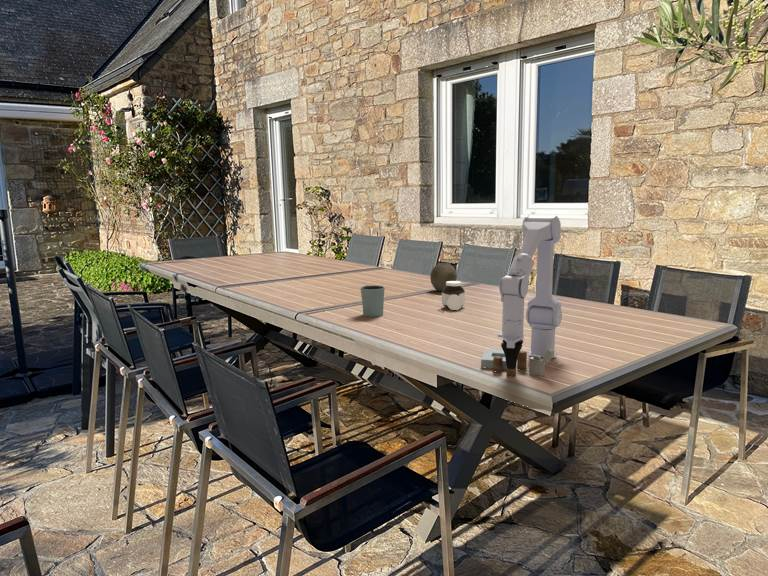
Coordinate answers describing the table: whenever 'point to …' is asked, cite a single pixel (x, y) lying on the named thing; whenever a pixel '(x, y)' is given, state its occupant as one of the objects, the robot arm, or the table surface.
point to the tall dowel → (511, 372)
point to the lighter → (540, 363)
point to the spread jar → (453, 295)
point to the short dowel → (497, 363)
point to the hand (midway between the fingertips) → (511, 366)
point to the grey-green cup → (372, 300)
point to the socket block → (488, 358)
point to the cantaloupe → (442, 275)
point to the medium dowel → (522, 360)
